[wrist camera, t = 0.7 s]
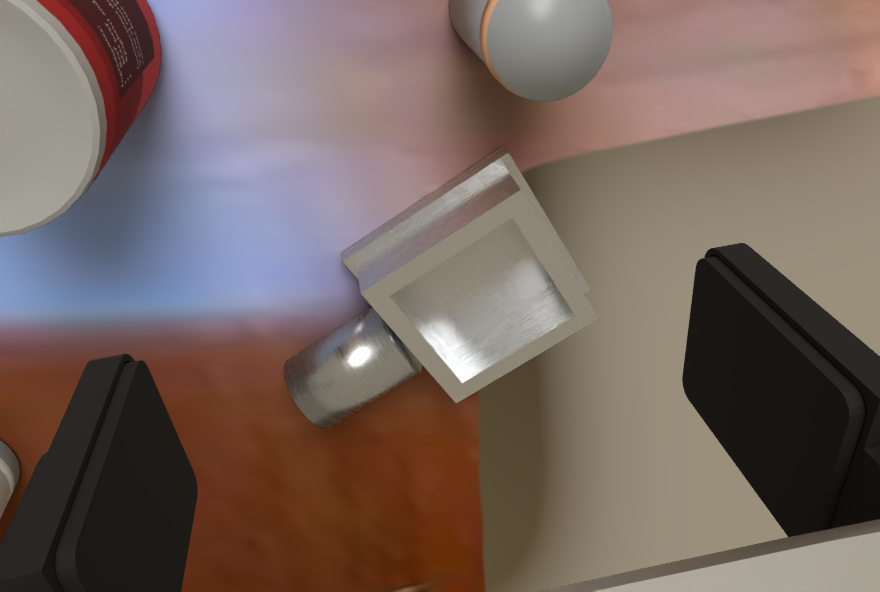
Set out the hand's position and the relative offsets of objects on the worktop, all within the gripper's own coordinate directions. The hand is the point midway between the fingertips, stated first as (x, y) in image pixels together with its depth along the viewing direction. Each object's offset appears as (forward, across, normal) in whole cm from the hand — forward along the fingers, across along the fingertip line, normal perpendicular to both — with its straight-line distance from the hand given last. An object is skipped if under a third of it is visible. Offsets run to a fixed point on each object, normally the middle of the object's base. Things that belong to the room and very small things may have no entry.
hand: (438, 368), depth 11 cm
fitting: (+23, -2, +13) cm, 26 cm away
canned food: (+23, +12, -3) cm, 26 cm away
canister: (+23, -7, -2) cm, 24 cm away
